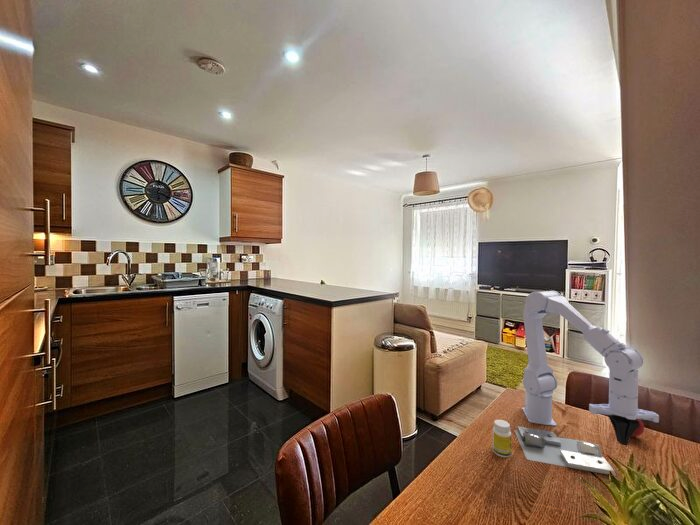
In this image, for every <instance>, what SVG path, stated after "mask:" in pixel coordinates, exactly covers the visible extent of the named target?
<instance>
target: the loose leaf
mask: <svg viewBox="0 0 700 525" xmlns="http://www.w3.org/2000/svg"><path fill="white" fill-rule="evenodd" d="M580 441H581V440H579V441H577V450H578V452H579V453H577V452H571V451H565V450H560V455H561V456H562V458H563V459H564V461H565V463H566V464H567V466H568V467H567V468H570V469H575V470H581V471H586V472H591V473H592V472H593V473H597V474H604V475H608V473H609V471H611V472H612V474H614V476H615V475H616V474H615V472H616V471H615V470H614V468H613V467H612V466H611V465H610V463H609V462H608V461H607V460H606V458H605V457H604V456H603V451H602V448H601V446H600V445H599V444H597V443H593V442H592V443H591V442H589V443H586V442H587V441H586V442H580Z"/></svg>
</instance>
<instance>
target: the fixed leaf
mask: <svg viewBox="0 0 700 525" xmlns="http://www.w3.org/2000/svg"><path fill="white" fill-rule="evenodd" d="M516 428H517V429H516V431H518V432H519V435H520V437H521V440H522V441H523V442H524V444H525V445H527V446H533V447H539V448H545V444H547V445H553V446H559V447H561V442H560V441H559V439H558V438H557V437H558V436H557V434H556V433H555V432H554V431H549V430H544V429H538V428H529V427H525V426H517V427H516Z"/></svg>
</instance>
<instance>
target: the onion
mask: <svg viewBox="0 0 700 525" xmlns="http://www.w3.org/2000/svg"><path fill="white" fill-rule="evenodd" d="M637 421H638V422H639V423H640V426H639V428H637V429H636V430H635V431H634V433H633V434H632V436H631V437H630V438H632V437H633V438H634V437H639V436H641V435H642V434H643V433H644V432H645V425H644V423H643V421H642V419H637Z"/></svg>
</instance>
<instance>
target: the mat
mask: <svg viewBox="0 0 700 525" xmlns="http://www.w3.org/2000/svg"><path fill="white" fill-rule="evenodd" d="M513 431H514V433H515V435H516V436H515V437H516V438H517V440H518V443H519V444H520V447H521V449H522V452H523V454H524V456H525V458H526V460H527V461H532V462H537V463H543V464H549V465H556V466H560V467H566V468H569V467H568V466H567V464H566V463H565V461H564V459H563V458H562V456H561V455H560V450H565V451H571V452H577V453H579V452H578V450H577V441H580V442H586V443H590V441H585V440H578V439H572V438H565V437H559V436H557V438H558V439H559V441H560V442H561V447H559V446H553V445H547V444H545V448H539V447H533V446H527V445H525V444H524V442H523V441H522V440H521V437H520V435H519V432H518V430H517V429H516V430H513ZM615 476H616V477H617V474H615Z"/></svg>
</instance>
